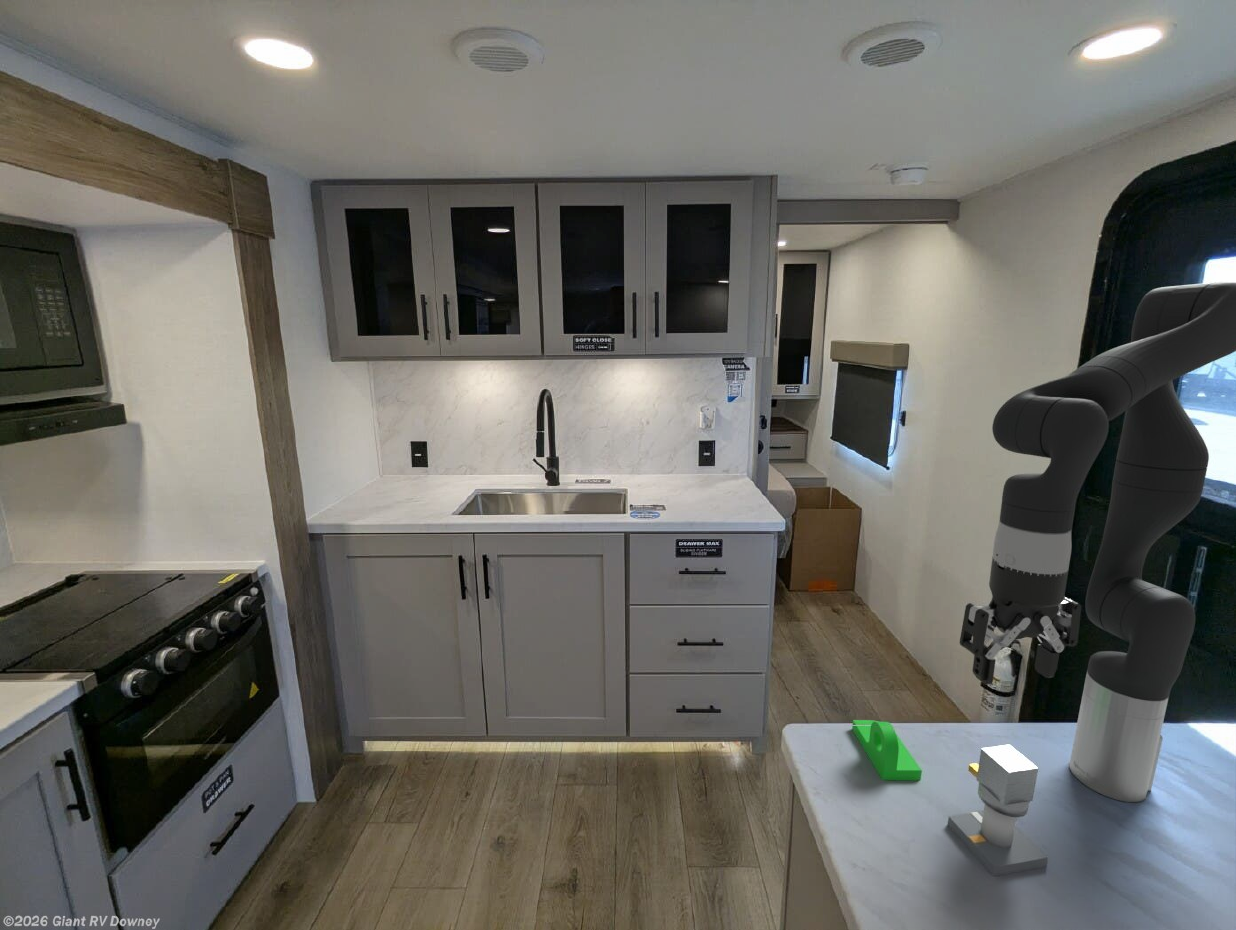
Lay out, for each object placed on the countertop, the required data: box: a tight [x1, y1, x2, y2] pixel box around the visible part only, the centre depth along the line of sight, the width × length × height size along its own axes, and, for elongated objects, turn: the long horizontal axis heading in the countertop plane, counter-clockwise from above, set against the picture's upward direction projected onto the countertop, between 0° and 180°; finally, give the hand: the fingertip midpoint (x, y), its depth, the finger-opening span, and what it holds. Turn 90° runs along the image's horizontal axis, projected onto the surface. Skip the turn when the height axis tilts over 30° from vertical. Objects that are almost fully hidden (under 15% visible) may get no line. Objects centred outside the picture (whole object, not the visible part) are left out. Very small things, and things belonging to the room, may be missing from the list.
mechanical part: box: [852, 719, 923, 781], centre depth 92 cm, size 12×6×8 cm, turn 179°
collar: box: [967, 744, 1039, 818], centre depth 74 cm, size 6×8×7 cm
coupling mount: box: [947, 803, 1049, 877], centre depth 75 cm, size 8×8×7 cm
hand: (1013, 677), depth 70 cm, fingers open, 8 cm apart
